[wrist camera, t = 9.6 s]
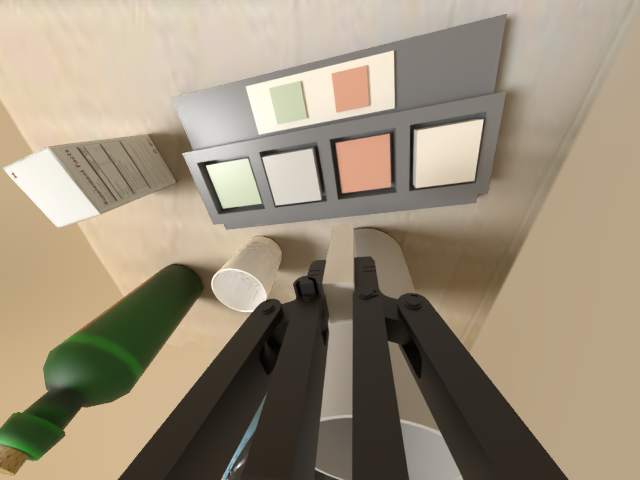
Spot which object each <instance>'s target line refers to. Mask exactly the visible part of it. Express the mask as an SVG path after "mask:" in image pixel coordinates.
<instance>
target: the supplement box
mask: <svg viewBox="0 0 640 480" xmlns="http://www.w3.org/2000/svg"><path fill="white" fill-rule="evenodd" d="M3 168H4V170H5V171H6V172H7V174H8V175H9V176H10V177H11V178H12V179H13V180H14V182H16V184H17V185H18V186H19V187H20V188H21V189H22V190H23V191H24V192H25V193H26V194H27V195H28V197H29V198H30V199H31V200H32V201H33V202H34V203H35V204H36V205H37V206H38V207H39V208H40V209H41V210H42V212H43V213H45V215H46V216H47V217H48V218H49V219H50V220H51V221H52V222H53V223H54V224H55V225H56V226H57V227H63V226H66V225H70V224H73V223H77V222H80V221H83V220H86V219H89V218H92V217H95V216H98V215H100V214H103V213H105V212H108V211H110V210H112V209H115V208H117V207H119V206H122V205H124V204H127V203H129V202H131V201H134V200H136V199H139V198H141V197H144V196H146V195H148V194H151V193H153V192H155V191H158V190H160V189H162V188H165V187H167V186H169V185H172V184H174V183H176V180H175V179H174V177H173V175H172V173H171V172H170V170H169V168H168V167H167V165H166V163H165V162H164V160H163V158H162V157H161V155H160V153H159V151H158V150H157V148H156V147H155V145H154V143H153V142H152V140H151V138H150V137H149V135H147V134H145V135H137V136H130V137H122V138H114V139H105V140H97V141H88V142H80V143H72V144H64V145H57V146H50V147H46V148H44V149H41V150H39V151H37V152H35V153H33V154H31V155H29V156H27V157H24V158H22V159H20V160H18V161H16V162H14V163H12V164H10V165H8V166H5V167H3Z"/></svg>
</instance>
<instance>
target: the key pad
mask: <svg viewBox="0 0 640 480" xmlns="http://www.w3.org/2000/svg"><path fill="white" fill-rule="evenodd" d="M506 16H507V14H504V15H500V16H496V17H492V18H488V19H484V20H480V21H476V22H472V23H468V24H464V25H460V26H456V27H452V28H448V29H444V30H440V31H436V32H432V33H428V34H424V35H420V36H416V37H412V38H408V39H404V40H400V41H396V42H392V43H388V44H384V45H380V46H376V47H372V48H368V49H364V50H360V51H356V52H352V53H348V54H344V55H340V56H336V57H332V58H328V59H324V60H320V61H316V62H312V63H308V64H304V65H300V66H296V67H292V68H288V69H284V70H280V71H276V72H272V73H268V74H264V75H260V76H256V77H252V78H248V79H244V80H240V81H236V82H232V83H228V84H224V85H220V86H216V87H212V88H208V89H204V90H200V91H196V92H192V93H188V94H184V95H180V96H176V97H172V101H173V103H174V106H175V108H176V110H177V113H178V115H179V118H180V120H181V122H182V125H183V127H184V130H185V132H186V134H187V137H188V139H189V142H190V144H191V146H192V149H193V151H189V152H185V153H182V154H183V157H184V159H185V161H186V163H187V166H188V168H189V170H190V172H191V175H192V177H193V179H194V181H195V184H196V186H197V188H198V191H199V193H200V195H201V197H202V200H203V202H204V204H205V206H206V209H207V211H208V213H209V215H210V218H211V220H212V222H213V225H214V224H223V223H224V226H225V228H226V230H227V229H236V228H246V227H255V226H264V225H274V224H283V223H292V222H302V221H311V220H320V219H330V218H339V217H348V216H358V215H367V214H376V213H386V212H395V211H404V210H414V209H423V208H432V207H442V206H451V205H460V204H470V203H476V201H477V195H478V194H487V193H488V189H489V183H490V178H491V172H492V167H493V162H494V156H495V151H496V145H497V140H498V134H499V129H500V124H501V118H502V113H503V107H504V102H505V96H506V92H498V93H494V90H495V84H496V78H497V71H498V65H499V59H500V53H501V47H502V41H503V34H504V28H505V22H506ZM471 119H484V120H483V127H482V134H481V140H480V147H479V153H478V160H477V167H476V173H475V180H474V181H469V182H461V183H453V184H445V185H437V186H429V187H421V188H415V186H414V185H413V145H414V129H419V128H425V127H430V126H436V125H442V124H448V123H453V122H459V121H465V120H471ZM387 132H388V133H390V164H391V187H387V188H380V189H372V190H364V191H356V192H348V193H342V189H341V181H340V174H339V166H338V158H337V151H336V141H341V140H347V139H353V138H358V137H364V136H370V135H375V134H381V133H387ZM309 147H315V153H316V159H317V165H318V170H319V176H320V182H321V188H322V193H323V197H322V200H317V201H309V202H301V203H293V204H285V205H277V206H276V204H275V201H274V197H273V194H272V190H271V187H270V183H269V180H268V176H267V173H266V169H265V166H264V162H263V159H262V157H264V156H266V155H269V154H275V153H281V152H286V151H292V150H298V149H304V148H309ZM244 157H249V159H250V162H251V165H252V168H253V171H254V175H255V178H256V181H257V184H258V188H259V191H260V194H261V197H262V201H263V203H262V204H255V205H247V206H239V207H231V208H224V209H223V207H222V205H221V202H220V200H219V197H218V195H217V192H216V190H215V187H214V185H213V182H212V180H211V178H210V175H209V173H208V170H207V168H206V165H208V164H211V163H215V162H221V161H227V160H232V159H238V158H244Z"/></svg>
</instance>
